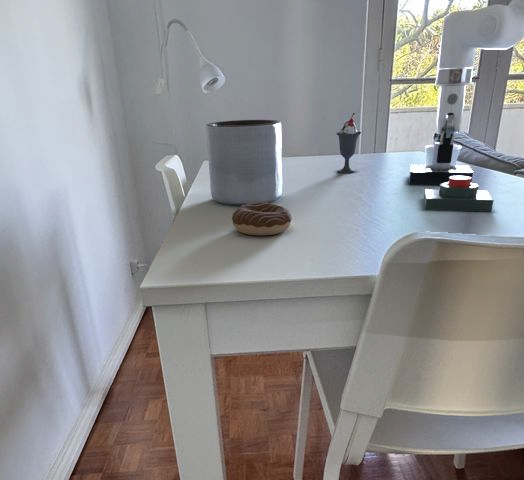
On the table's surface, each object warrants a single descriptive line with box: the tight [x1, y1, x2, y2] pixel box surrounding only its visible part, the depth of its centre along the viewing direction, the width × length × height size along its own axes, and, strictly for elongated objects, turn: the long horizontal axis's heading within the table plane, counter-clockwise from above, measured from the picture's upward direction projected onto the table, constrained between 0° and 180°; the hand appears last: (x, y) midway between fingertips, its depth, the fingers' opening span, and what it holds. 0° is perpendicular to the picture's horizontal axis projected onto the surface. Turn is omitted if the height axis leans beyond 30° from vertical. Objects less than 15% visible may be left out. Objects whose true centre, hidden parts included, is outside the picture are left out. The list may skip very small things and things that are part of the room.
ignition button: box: [448, 176, 472, 187], centre depth 92 cm, size 4×4×2 cm
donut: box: [231, 202, 293, 237], centre depth 82 cm, size 11×11×4 cm
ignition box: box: [423, 182, 494, 213], centre depth 93 cm, size 12×9×4 cm
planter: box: [205, 119, 284, 206], centre depth 102 cm, size 16×16×16 cm
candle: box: [425, 144, 462, 166], centre depth 126 cm, size 9×9×6 cm
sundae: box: [335, 112, 362, 174], centre depth 129 cm, size 7×7×15 cm
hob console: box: [408, 164, 474, 186], centre depth 116 cm, size 14×10×3 cm
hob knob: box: [431, 141, 450, 170], centre depth 113 cm, size 4×4×6 cm
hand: (442, 160), depth 114 cm, fingers open, 9 cm apart
